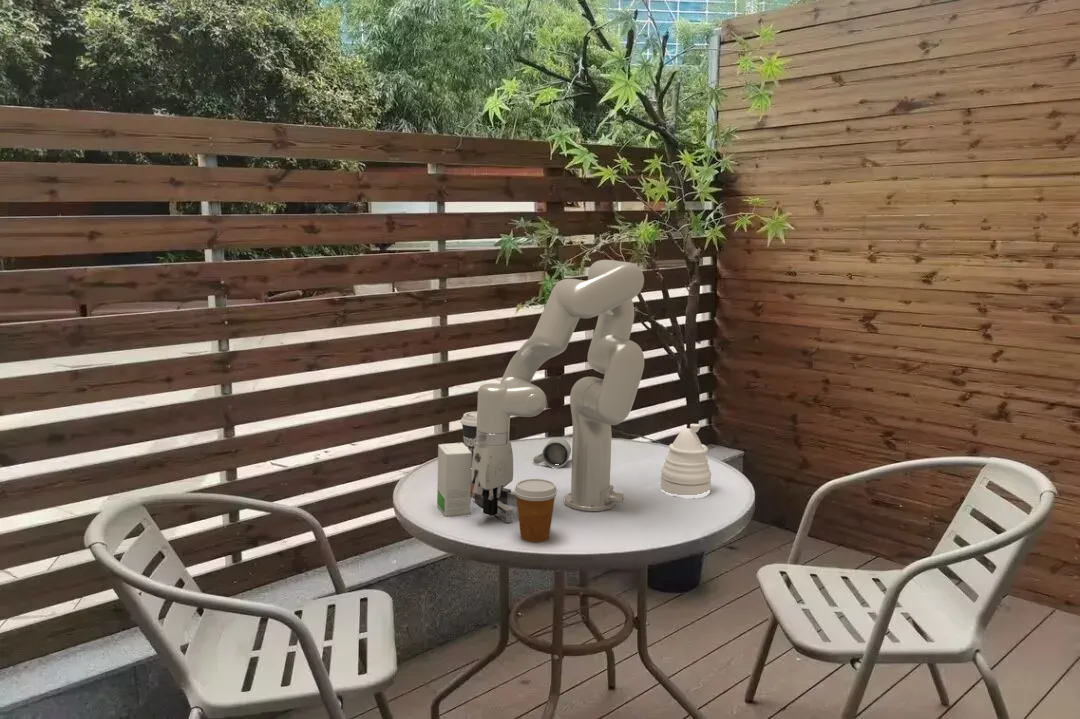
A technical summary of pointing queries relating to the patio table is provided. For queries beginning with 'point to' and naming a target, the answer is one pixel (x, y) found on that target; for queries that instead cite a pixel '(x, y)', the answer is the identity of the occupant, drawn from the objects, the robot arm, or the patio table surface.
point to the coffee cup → (469, 430)
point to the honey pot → (686, 465)
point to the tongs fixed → (507, 497)
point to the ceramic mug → (554, 453)
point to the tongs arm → (503, 510)
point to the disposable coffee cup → (535, 508)
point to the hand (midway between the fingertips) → (490, 513)
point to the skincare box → (454, 479)
